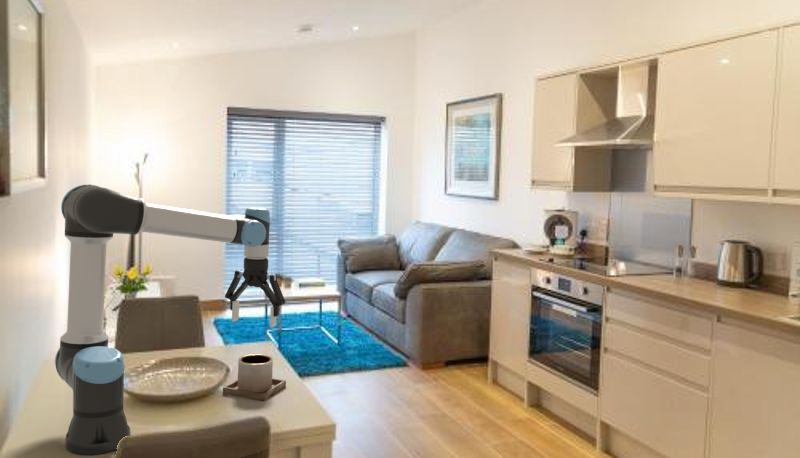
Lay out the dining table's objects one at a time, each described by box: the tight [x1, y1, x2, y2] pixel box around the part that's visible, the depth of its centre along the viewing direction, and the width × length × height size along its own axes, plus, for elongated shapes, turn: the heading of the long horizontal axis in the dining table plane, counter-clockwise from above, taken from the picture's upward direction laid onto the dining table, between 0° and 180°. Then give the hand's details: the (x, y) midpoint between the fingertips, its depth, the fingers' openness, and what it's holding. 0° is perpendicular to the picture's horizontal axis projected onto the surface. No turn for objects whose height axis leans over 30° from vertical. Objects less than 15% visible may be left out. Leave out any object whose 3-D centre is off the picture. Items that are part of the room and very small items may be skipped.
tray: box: [222, 377, 287, 402], centre depth 210 cm, size 14×14×2 cm
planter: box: [237, 353, 274, 393], centre depth 209 cm, size 11×11×10 cm
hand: (253, 323), depth 208 cm, fingers open, 13 cm apart
